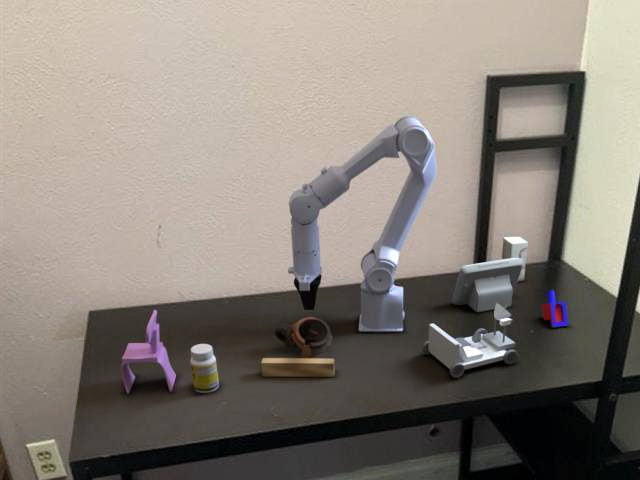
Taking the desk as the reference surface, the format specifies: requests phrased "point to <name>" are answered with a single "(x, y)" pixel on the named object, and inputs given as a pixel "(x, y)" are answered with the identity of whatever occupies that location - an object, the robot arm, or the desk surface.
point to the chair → (147, 355)
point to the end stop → (298, 367)
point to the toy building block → (555, 311)
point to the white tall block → (515, 251)
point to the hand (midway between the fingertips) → (309, 308)
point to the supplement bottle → (204, 368)
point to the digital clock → (487, 284)
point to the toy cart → (472, 346)
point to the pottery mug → (303, 336)
